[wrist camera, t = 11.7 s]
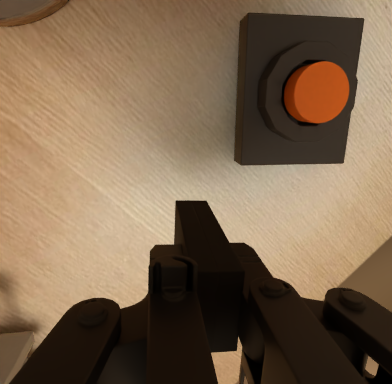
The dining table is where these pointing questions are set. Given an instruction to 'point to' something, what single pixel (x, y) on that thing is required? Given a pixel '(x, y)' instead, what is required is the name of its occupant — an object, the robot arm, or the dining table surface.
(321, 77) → the button
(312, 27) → the button block
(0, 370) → the grey drawer
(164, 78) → the dining table surface
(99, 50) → the dining table surface
